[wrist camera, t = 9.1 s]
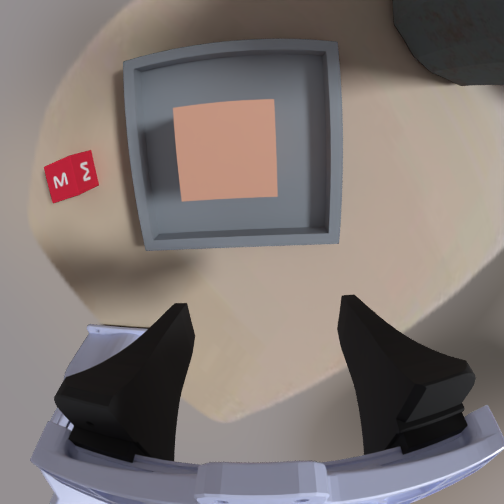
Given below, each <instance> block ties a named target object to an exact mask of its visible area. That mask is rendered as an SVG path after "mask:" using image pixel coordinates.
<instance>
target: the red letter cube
mask: <svg viewBox="0 0 504 504" xmlns="http://www.w3.org/2000/svg"><path fill="white" fill-rule="evenodd" d="M44 170H45V174H46V179H47V183H48V187H49V191H50V194H51V198H52V202H53V203H56V202H59V201H62V200H65V199H68V198H71V197H74V196H77V195H80V194H82V193H84V192H86V191H88V190H90V189H92V188H94V187H96V186H98V185H99V183H98V179H97V175H96V170H95V166H94V162H93V157H92V152H91V150H89V151H85V152H81V153H77V154H74V155H70V156H68V157H65V158H63V159H61V160H58V161H56V162H54V163H52V164H49V165H47V166H45V167H44Z"/></svg>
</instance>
